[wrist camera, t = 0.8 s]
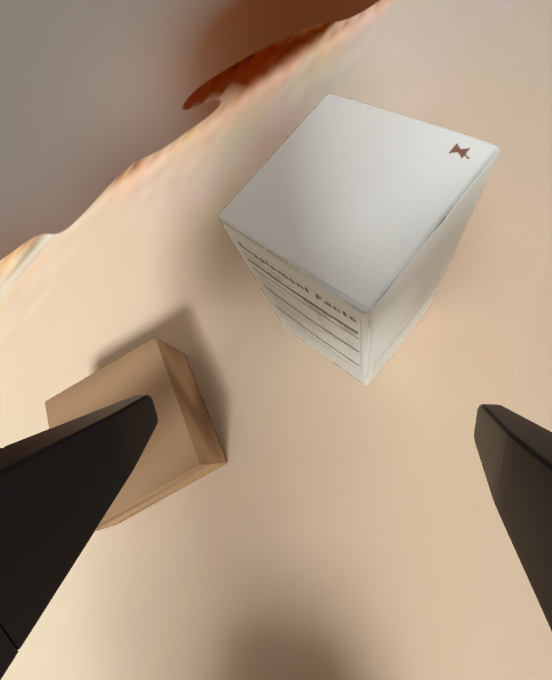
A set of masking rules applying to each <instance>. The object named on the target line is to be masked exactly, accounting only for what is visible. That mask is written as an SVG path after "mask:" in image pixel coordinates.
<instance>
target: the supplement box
mask: <svg viewBox="0 0 552 680" xmlns="http://www.w3.org/2000/svg"><path fill="white" fill-rule="evenodd" d="M499 153H500V147H498V146H496V145H493V144H490V143H488V142H485V141H482V140H480V139H477V138H474V137H471V136H468V135H465V134H462V133H459V132H456V131H453V130H450V129H447V128H443V127H440V126H437V125H433V124H430V123H427V122H423V121H420V120H417V119H414V118H410V117H407V116H403V115H400V114H397V113H394V112H390V111H387V110H384V109H381V108H377V107H374V106H371V105H367V104H364V103H360V102H358V101H354V100H351V99H349V98H345V97H341V96H337V95H332V94H327V95H326V96H325V97H324V98H323V99H322V100H321V101H320V102H319V103H318V104H317V106H316V107H315V108H314V109H313V110H312V111H311V113H310V114H309V115H308V116H307V117H306V118H305V119H304V120H303V122H302V123H301V124H300V125H299V126H298V127H297V128H296V129H295V131H294V132H293V133H292V134H291V135H290V136H289V137H288V138H287V139H286V141H285V142H284V143H283V144H282V145H281V146H280V147H279V148H278V149H277V151H276V152H275V153H274V154H273V155H272V156H271V157H270V158H269V159H268V161H267V162H266V163H265V164H264V165H263V166H262V167H261V168H260V170H259V171H258V172H257V173H256V174H255V175H254V176H253V177H252V178H251V180H250V181H249V182H248V183H247V184H246V185H245V186H244V187H243V188H242V189H241V191H240V192H239V193H238V194H237V195H236V196H235V197H234V198H233V199H232V201H231V202H230V203H229V204H228V205H227V206H226V207H225V208H224V209H223V210H222V211H221V213H220V214H219V215H218V219H219V220H220V222H221V224H222V225H223V227H224V229H225V230H226V232H227V234H228V235H229V237H230V238H231V240H232V242H233V243H234V245H235V246H236V248H237V250H238V251H239V253H240V255H241V256H242V258H243V260H244V261H245V263H246V264H247V266H248V268H249V269H250V271H251V272H252V274H253V276H254V277H255V279H256V280H257V282H258V283H259V285H260V287H261V289H262V290H263V292H264V294H265V295H266V297H267V299H268V301H269V302H270V304H271V305H272V307H273V309H274V310H275V312H276V314H277V315H278V317H279V319H280V321H281V322H282V324H283V325H284V327H285V328H286V330H288V331H289V332H291V333H292V334H294V335H295V336H296V337H298V338H299V339H301V340H302V341H303V342H305V343H306V344H308V345H309V346H310V347H312V348H313V349H315V350H316V351H317V352H319V353H320V354H321V355H323V356H324V357H326V358H327V359H328V360H330V361H331V362H333V363H334V364H335V365H337V366H338V367H339V368H341V369H342V370H344V371H345V372H346V373H348V374H349V375H351V376H352V377H353V378H355V379H356V380H358V381H359V382H360V383H362V384H363V385H365V386H368V385H369V383H370V382H371V381H372V380H373V379H374V377H375V376H376V375H377V374H378V373H379V371H380V370H381V369H382V368H383V366H384V365H385V364H386V362H387V361H388V360H389V359H390V357H391V356H392V355H393V354H394V352H395V351H396V350H397V348H398V347H399V346H400V345H401V343H402V342H403V341H404V339H405V338H406V337H407V335H408V334H409V333H410V331H411V330H412V329H413V327H414V326H415V325H416V323H417V322H418V321H419V319H420V318H421V317H422V315H423V314H424V313H425V311H426V310H427V309H428V307H429V305H430V302H431V300H432V298H433V296H434V294H435V292H436V290H437V287H438V285H439V283H440V281H441V278H442V276H443V274H444V272H445V270H446V268H447V266H448V264H449V261H450V259H451V257H452V255H453V253H454V251H455V248H456V246H457V244H458V242H459V240H460V238H461V235H462V233H463V231H464V229H465V227H466V225H467V222H468V220H469V218H470V216H471V214H472V212H473V210H474V207H475V205H476V203H477V201H478V199H479V197H480V194H481V192H482V190H483V188H484V186H485V184H486V181H487V179H488V177H489V175H490V173H491V170H492V168H493V166H494V164H495V162H496V160H497V157H498V155H499Z"/></svg>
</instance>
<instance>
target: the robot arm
mask: <svg viewBox="0 0 552 680" xmlns="http://www.w3.org/2000/svg"><path fill="white" fill-rule="evenodd" d="M157 423H158V416H157V413H156V409H155V406H154V402H153V399H152V397H151V396H150V395H141V394H138V395H134V396H132V397H129V398H127V399H124V400H122V401H119V402H117V403H114V404H111V405H109V406H106V407H104V408H101V409H99V410H96V411H94V412H91V413H89V414H86V415H84V416H81V417H79V418H76V419H73V420H71V421H68V422H66V423H63V424H61V425H58V426H56V427H53V428H51V429H48V430H46V431H43V432H41V433H38V434H35V435H33V436H30V437H28V438H25V439H23V440H20V441H18V442H15V443H13V444H10V445H8V446H5V447H4V448H0V680H1V678H2V677H3V675H4V674H5V672H6V670H7V669H8V667H9V666H10V664H11V663H12V661H13V659H14V658H15V656H16V655H17V653H18V649H20V648H21V646H22V645H23V643H24V642H25V640H26V638H27V637H28V635H29V634H30V632H31V631H32V629H33V627H34V626H35V624H36V623H37V621H38V620H39V618H40V616H41V615H42V613H43V612H44V610H45V609H46V607H47V605H48V604H49V602H50V601H51V599H52V598H53V596H54V594H55V593H56V591H57V590H58V588H59V587H60V585H61V583H62V582H63V580H64V579H65V577H66V576H67V574H68V572H69V571H70V569H71V568H72V566H73V565H74V563H75V561H76V560H77V558H78V557H79V555H80V554H81V552H82V550H83V549H84V547H85V546H86V544H87V543H88V541H89V539H90V538H91V536H92V535H93V533H94V532H95V530H96V528H97V527H98V525H99V524H100V522H101V521H102V519H103V517H104V516H105V514H106V513H107V511H108V510H109V508H110V506H111V505H112V503H113V502H114V500H115V499H116V497H117V495H118V494H119V492H120V491H121V489H122V488H123V486H124V484H125V483H126V481H127V480H128V478H129V476H130V475H131V473H132V472H133V470H134V468H135V466H136V465H137V463H138V461H139V459H140V457H141V455H142V453H143V451H144V449H145V447H146V445H147V443H148V441H149V440H150V438H151V436H152V434H153V432H154V430H155V428H156V426H157ZM474 438H475V443H476V447H477V450H478V453H479V456H480V459H481V462H482V466H483V469H484V472H485V475H486V478H487V481H488V485H489V488H490V491H491V494H492V497H493V500H494V503H495V505H496V507H497V510H498V512H499V515H500V517H501V519H502V521H503V523H504V526H505V528H506V530H507V532H508V535H509V537H510V539H511V541H512V544H513V546H514V548H515V550H516V552H517V555H518V557H519V559H520V561H521V564H522V566H523V568H524V570H525V572H526V575H527V577H528V579H529V581H530V584H531V586H532V588H533V590H534V593H535V595H536V597H537V599H538V601H539V604H540V606H541V608H542V610H543V613H544V615H545V617H546V619H547V621H548V624H549V626H550V628H551V630H552V432H550V431H548V430H547V429H545V428H543V427H541V426H539V425H537V424H535V423H533V422H531V421H529V420H528V419H526V418H524V417H522V416H520V415H518V414H516V413H514V412H512V411H511V410H509V409H507V408H505V407H503V406H501V405H493V404H482V405H480V406H479V408H478V411H477V417H476V424H475V431H474Z"/></svg>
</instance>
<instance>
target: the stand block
mask: <svg viewBox="0 0 552 680" xmlns="http://www.w3.org/2000/svg"><path fill="white" fill-rule="evenodd" d="M138 394H141V395H150V396H151V397H152V399H153V402H154V406H155V409H156V413H157V416H158V423H157V426H156V428H155V430H154V432H153V434H152V436H151V438H150V440H149V441H148V443H147V445H146V447H145V449H144V451H143V453H142V455H141V457H140V459H139V461H138V463H137V465H136V466H135V468H134V470H133V472H132V473H131V475H130V476H129V478H128V480H127V481H126V483H125V484H124V486H123V488H122V489H121V491H120V492H119V494H118V495H117V497H116V499H115V500H114V502H113V503H112V505H111V506H110V508H109V510H108V511H107V513H106V514H105V516H104V517H103V519H102V521H101V522H100V524H99V525H98V527H97V528H96V530H95V531H97V530H100V529H104V528H107V527H110V526H114V525H117V524H118V523H120V522H122V521H124V520H126V519H127V518H129V517H131V516H133V515H135V514H136V513H138V512H140V511H142V510H143V509H145V508H147V507H149V506H151V505H152V504H154V503H156V502H158V501H160V500H161V499H163V498H165V497H167V496H169V495H170V494H172V493H174V492H176V491H178V490H179V489H181V488H183V487H185V486H187V485H188V484H190V483H192V482H194V481H196V480H197V479H199V478H201V477H203V476H205V475H206V474H208V473H210V472H212V471H214V470H215V469H217V468H219V467H221V466H222V465H224V464H226V463H227V461H226V458H225V456H224V453H223V450H222V448H221V445H220V443H219V440H218V438H217V435H216V433H215V430H214V427H213V425H212V422H211V420H210V417H209V415H208V412H207V410H206V407H205V404H204V402H203V399H202V397H201V394H200V392H199V389H198V387H197V384H196V381H195V379H194V376H193V374H192V371H191V369H190V366H189V364H188V361H187V358H186V356H185V354H184V353H182V352H180V351H179V350H177V349H175V348H173V347H171V346H170V345H168V344H166V343H164V342H163V341H161V340H159V339H157V338H156V337H154V338H153V339H151V340H149V341H148V342H146V343H144V344H142V345H141V346H139V347H137V348H136V349H134V350H132V351H131V352H129V353H127V354H125V355H124V356H122V357H120V358H119V359H117V360H115V361H114V362H112V363H110V364H108V365H107V366H105V367H103V368H102V369H100V370H98V371H97V372H95V373H93V374H91V375H90V376H88V377H86V378H85V379H83V380H81V381H80V382H78V383H76V384H74V385H73V386H71V387H69V388H68V389H66V390H64V391H63V392H61V393H59V394H57V395H56V396H54V397H52V398H51V399H49V400H47V401H46V402H45V405H46V411H47V417H48V424H49V429H51V428H53V427H56V426H58V425H61V424H63V423H66V422H68V421H71V420H73V419H76V418H79V417H81V416H84V415H86V414H89V413H91V412H94V411H96V410H99V409H101V408H104V407H106V406H109V405H111V404H114V403H117V402H119V401H122V400H124V399H127V398H129V397H132V396H134V395H138Z"/></svg>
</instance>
